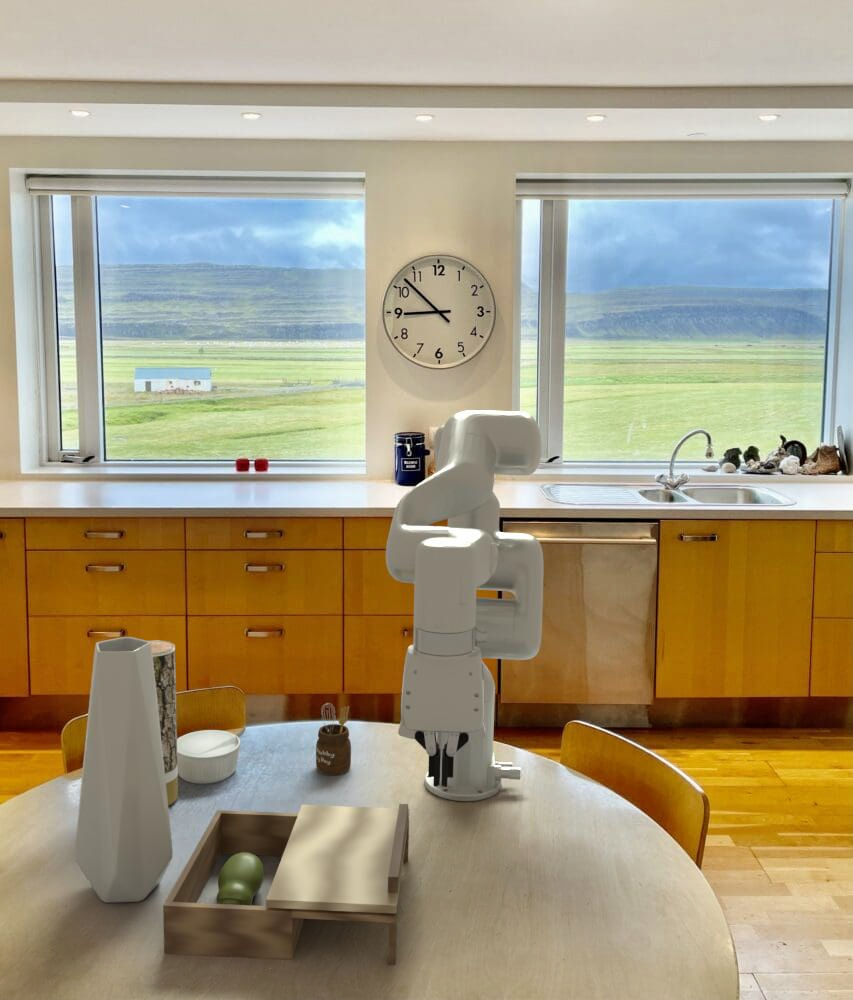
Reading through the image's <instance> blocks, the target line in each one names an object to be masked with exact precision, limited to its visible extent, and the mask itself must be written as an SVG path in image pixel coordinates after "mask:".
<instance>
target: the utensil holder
mask: <svg viewBox="0 0 853 1000" xmlns="http://www.w3.org/2000/svg"><path fill="white" fill-rule="evenodd" d="M325 706H327V707H329V708H331V711H332V712H336V711H335V710H336V709H335V706H333V704H332V703H330V702H326V703H325V704H323V705H322V706H321V714H323V716H325V715H326V714H325V711H324V709H323V708H324V707H325ZM349 711H350V706H349V705H347V706H344V707H341V710H340V714H339V719H338V723H336V722H332V724H331V723H327V721H326V718H321V720H322V722H323V726H320V728H319V729H318V734H317V736H318V739H317V741H316V745H315V767H316V770H317V771H318V772H319V773H320V774H323V775H326V776H338V775H343V774H345V773H348V771H349V770H350V768H351V764H352V763H351V762H352V745H351V740H350V738H349V737H350V731H349V728H348V727H347V726H345V724H346V723H347V722H348V716H349ZM323 712H324V713H323ZM328 713H329V715H331V716H332V718H334V719H336V716H334V714H330V711H328ZM328 719H329V718H328V715H327V720H328Z"/></svg>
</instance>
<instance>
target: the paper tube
mask: <svg viewBox="0 0 853 1000" xmlns="http://www.w3.org/2000/svg"><path fill="white" fill-rule="evenodd" d="M148 641H149V642H150V643H151V647H152V655H153V664H154V674H155V683H156V693H157V703H158V712H159V722H160V732H161V741H162V751H163V761H164V771H165V781H166V790H167V800H168V807H169V806H171V805H172V804H174V803H175V802H176V801H177V799H178V796H179V789H178V787H179V785H178V783H179V782H178V781H179V779H178V776H179V774H178V766H177V739H178V732H177V731H178V729H177V728H178V725H177V724H178V723H177V675H176V674H177V673H176V672H177V671H176V645H175V644H174V643H173V642H170V641H167V640H159V639H157V640H155V639H154V640H148Z"/></svg>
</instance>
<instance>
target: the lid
mask: <svg viewBox="0 0 853 1000" xmlns="http://www.w3.org/2000/svg"><path fill="white" fill-rule="evenodd" d="M398 805H399V806H398V808H395V807H394V808H393V807H390V808H389V807H371V806H370V807H368V806H365V807H364V806H345V805H342V806H341V805H321V804H320V805H319V804H301V807H300V808H299V811H298V817H297V819H296V822H295V824H294V827H293V830H292V832H291V835H290V838H289V840H288V843H287V846H286V848H285V851H284V853H283V856H281V860H280V862H279V865H278V867H277V869H276V872H275V876H274V878H273V880H272V882H271V885H270V888H269V890H268V893H267V896H266V899H265V906H266V908H286V909H308V910H330V911H351V912H373V913H395V914H396V912H398V911H397V909H398V902H399V894H400V888H401V881H402V872H403V865H404V861H403V858H404V851H405V843H406V836H407V828H408V821H409V822H410V809H409V804H408V803H398Z"/></svg>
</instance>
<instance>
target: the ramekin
mask: <svg viewBox="0 0 853 1000" xmlns="http://www.w3.org/2000/svg"><path fill="white" fill-rule="evenodd" d="M241 744H242V742H241V739H240V737H238V735H236V734H235V733H232V732H230V731H226V730H219V729H203V730H197V731H192V732H189V733H185V734H184V735H182V736H179V737H177V766H178V776H179V777H180V778H181V779H182V780H183V781H185V782H188V783H191V784H199V785H200V784H201V785H203V784H214V783H218V782H221V781H225V780H226V779H228V778H229V777H231V776H232V775H233V774H234V773H235V771H236V768H237V765H238V760H239V753H240V750H241V746H242V745H241Z"/></svg>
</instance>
